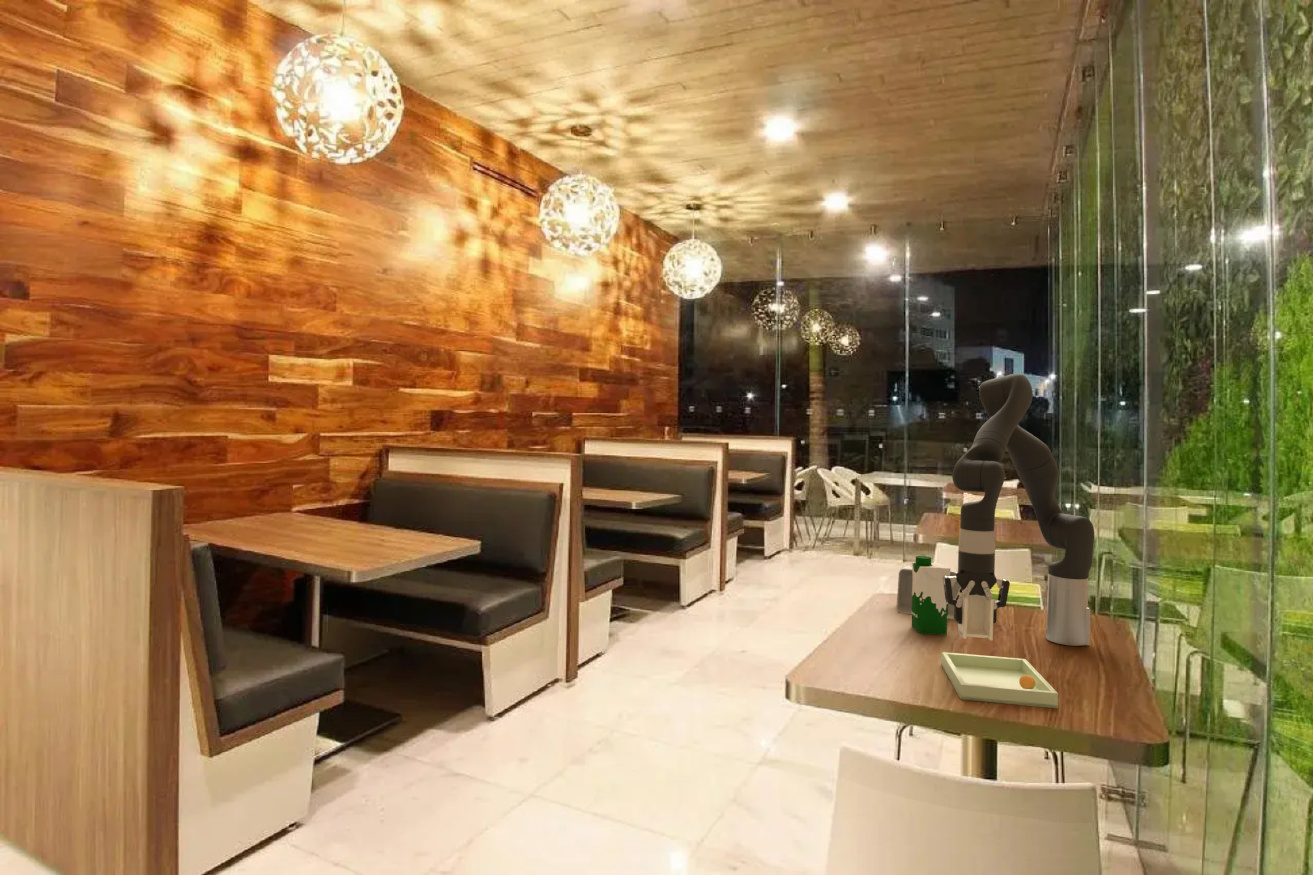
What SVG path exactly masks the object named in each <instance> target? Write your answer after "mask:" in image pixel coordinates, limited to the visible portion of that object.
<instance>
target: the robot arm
mask: <svg viewBox="0 0 1313 875" xmlns="http://www.w3.org/2000/svg"><path fill="white" fill-rule="evenodd" d="M978 393H979V399H980V401H981V404H982V406H983V409H984V411H985V413H986V414H987V416H988V417H989V419H987V420H986V422H985V423H983V424H982V425H981V427H979V430H978V431H977V433H976V435H975V437H974V440H973V442H972V445H971V447H970V448H969V449H968V450H967V451H966V452H965V453H964V454H963V455H962V456H961V457H960V458H959V459H958V461H957V462H956V464H955V466H954V468H953V469H952V470H953V471H952V477H951V478H952V482H953V485H954V486H955V487H956V488H957V489H958V490H960V491H963V492H973V493H974V492H975V493H977V492H978V493H984V495H983V498H982V499H980V500H977V501H971V502H969V501H968V502H965V503H963V504H962V505H961V507H960V522H959V523H960V528H959V536H958V551H957V553H958V555H957V556H958V557H957V571H958V572H957V574H956V576H951V577H947V576H944V577H943V584H944V592H945V600H946V601H947V602H948V603H949V604H952V605H954V619H953V620H954V621H955V622H956V623H957V625H958V624H962V607H961V606H962V604H963V597H968V595H980V596H984V597H985V598H986V599H987V600H988V601H989V598H992V599H993V600H994V610H993V624H996V623H997V613H998V611H997V610H998V609H999V608H1005V607H1006V606H1007V602H1008V601H1007V600H1008V596H1009V590H1010V586H1011V585H1010V584H1011V582H1010V581H1009V580H1008V579H1006V578H997V577H996V575H995V568H996V565H995V564H996V547H997V546H996V537H995V535H996V534H995V521H996V520H995V519H996V518H995V517H996V516H995V515H996V508H997V503H998V501H999V496H1000V494H1001V490H1002V488H1003V485H1004V482H1005V478H1006V473H1005V469H1004V467H1003V466H1002V464H1001V462H1002V460H1003V458H1004V455H1005V452H1006V450H1007V452H1008V455H1009V457H1010V459H1011V462H1012V465H1013V466H1014V469H1015V471H1016V474H1017V475H1018V478H1019V479H1020V482H1021V483H1022V485H1023V487H1024V489H1025V492H1026V494H1027V496H1028V499H1029V501H1030V504H1031V506H1032V509H1033V511H1034V514H1035V517H1036V520H1037V523H1038V527H1039V529H1040V533H1041V535H1042V538H1043V539H1044V541H1045V542H1046V543H1047V544H1048V545H1049V546H1051V547H1054V548H1057V549H1062V550H1064V551H1065V552H1064V556H1063V558H1062V559H1061V560H1057V561H1052V562H1050V563H1049V565H1048V568H1047V570H1048V572H1047V573H1048V574H1047V597H1046V598H1047V600H1046V601H1047V602H1046V621H1045V622H1046V626H1045V627H1046V628H1045V639H1046V640H1048V641H1050V642H1053V643H1055V644H1060V645H1065V646H1072V647H1073V646H1075V647H1078V646H1090V635H1091V634H1090V629H1091V628H1090V627H1091V608H1090V607H1089V606H1088V605H1089V603H1088V602H1089V601H1088V600H1089V598H1088V597H1089V574H1090V570H1091V568H1092V566H1093V554H1094V546H1095V529H1094V525H1093V522H1092V521H1091V520H1090V519H1089V518H1088V517H1086V516H1083V515H1075V514H1069V513H1068V514H1067V513H1064V512H1063V511H1062V509H1061V508H1060V506H1059V504H1058V502H1057V499H1056V494H1055V493H1056V490H1057V485H1058V482H1059V478H1060V471H1059V468H1058V464H1057V463H1056V460H1055V458H1054V455H1053V453H1052V451H1051V449H1050V448H1049V446H1048V445H1047V444H1046V443H1044V442H1043V441H1042V440H1041V439H1039V438H1038V437H1036V436H1034V435H1033V434H1032V433H1030V432H1028V431H1027V430H1026V429H1024V428H1023V427H1022V426H1020V425H1019V424H1020V423H1021V420H1022V419H1023V417H1024V416H1025V414H1026V413H1027V411H1028V410H1029V408H1030V406H1031V404H1032V402H1033V395H1034V393H1033V387H1032V385H1031V382H1030V380H1029V378H1028V377H1027V376H1026V375H1025V374H1023V373H1011V374H1008V375H1003V376H999V377H996V378H995V377H994V378H991V379H988V380H985V381H983V382H982V383H981V384H980V386H979V388H978ZM955 581H957V582H958V584H959V585H960V586H961V588H960V589H959V591H958V593H957V596H956V598H955V599H953V595H952V586H954V582H955ZM995 585H997V586H996V587H997V588H998V595H997V600H995V598H994V596H993V593H992V591H991V590H992V589H993V587H994V586H995ZM962 590H963V591H962ZM965 593H966V594H965Z"/></svg>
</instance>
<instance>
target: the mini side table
mask: <svg viewBox="0 0 1313 875" xmlns="http://www.w3.org/2000/svg"><path fill="white" fill-rule="evenodd" d="M965 594H966V593H965ZM994 600H995V599H994ZM994 600H993V599H992V598H989V601H988V600H987V599H986V598H985V597H984V596H980V595H968V597H963V604H962V606H961V607H962V624H958V623H957V632H958V634H959V635H960V636H961V637H962V638H963V640H967V639H968V638H979V639H980V638H984V639H988V640H989V641H993V640H994V623H993V610H994ZM967 637H968V638H967Z"/></svg>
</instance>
